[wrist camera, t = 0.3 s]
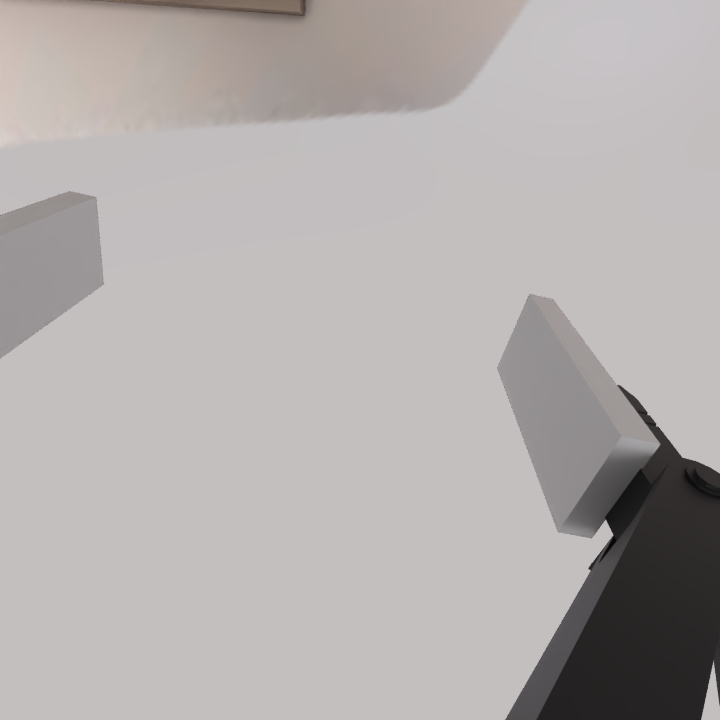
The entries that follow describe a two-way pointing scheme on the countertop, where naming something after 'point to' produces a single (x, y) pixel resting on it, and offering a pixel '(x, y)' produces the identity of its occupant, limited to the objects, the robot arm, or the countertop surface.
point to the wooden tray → (231, 5)
